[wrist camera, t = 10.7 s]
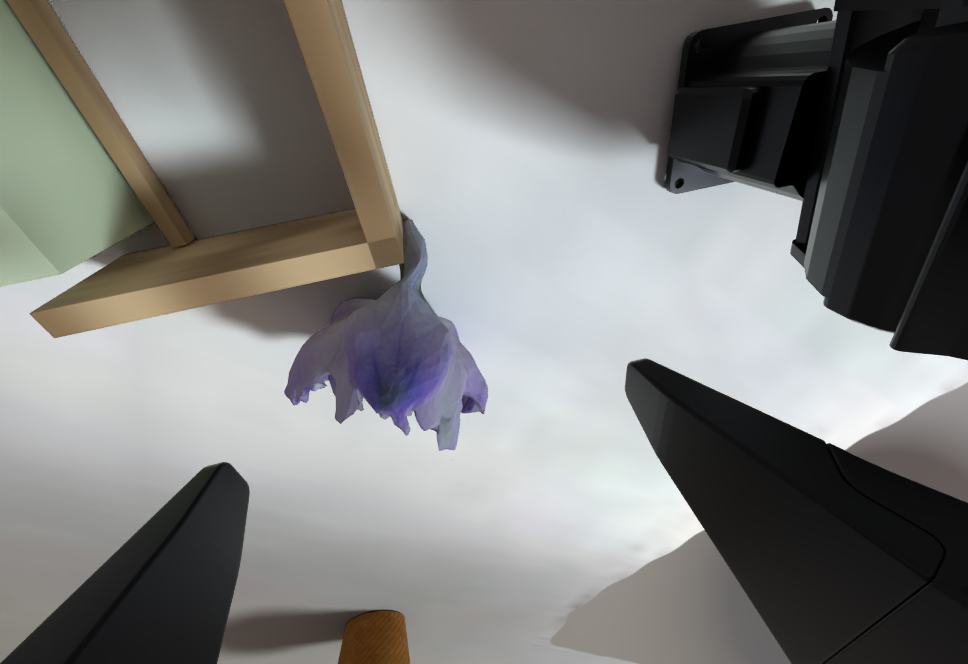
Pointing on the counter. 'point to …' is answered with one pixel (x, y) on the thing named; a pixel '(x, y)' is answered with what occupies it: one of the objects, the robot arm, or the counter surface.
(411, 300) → the flower
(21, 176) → the pale green block
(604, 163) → the counter surface
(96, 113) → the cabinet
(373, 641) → the disposable coffee cup
